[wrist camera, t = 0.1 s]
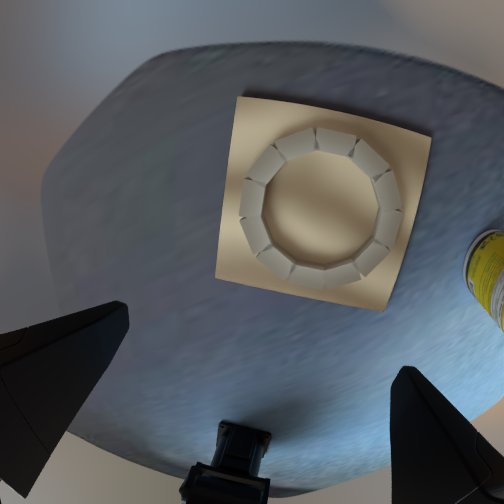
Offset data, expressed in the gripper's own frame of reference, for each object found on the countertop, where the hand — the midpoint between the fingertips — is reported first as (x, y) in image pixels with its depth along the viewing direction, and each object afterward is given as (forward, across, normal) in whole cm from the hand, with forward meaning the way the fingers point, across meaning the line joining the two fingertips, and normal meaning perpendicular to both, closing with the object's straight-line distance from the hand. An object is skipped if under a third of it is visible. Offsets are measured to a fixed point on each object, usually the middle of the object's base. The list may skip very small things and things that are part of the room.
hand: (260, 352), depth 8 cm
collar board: (+15, -2, -2) cm, 15 cm away
